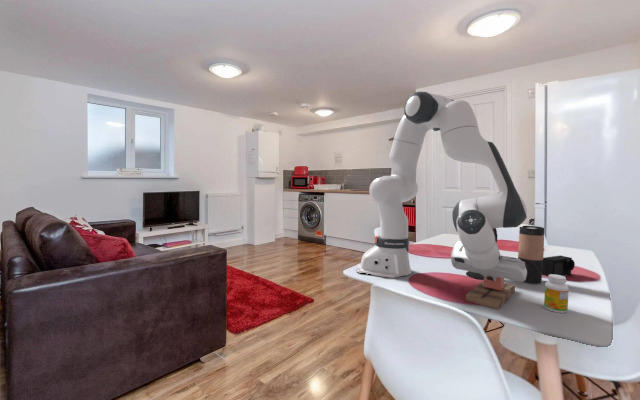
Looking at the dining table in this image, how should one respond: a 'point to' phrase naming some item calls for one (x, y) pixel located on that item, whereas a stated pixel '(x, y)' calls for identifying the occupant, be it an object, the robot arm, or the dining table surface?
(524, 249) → the travel mug
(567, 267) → the digital camera
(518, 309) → the dining table surface
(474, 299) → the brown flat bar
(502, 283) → the pink box with lid
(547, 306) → the supplement bottle
